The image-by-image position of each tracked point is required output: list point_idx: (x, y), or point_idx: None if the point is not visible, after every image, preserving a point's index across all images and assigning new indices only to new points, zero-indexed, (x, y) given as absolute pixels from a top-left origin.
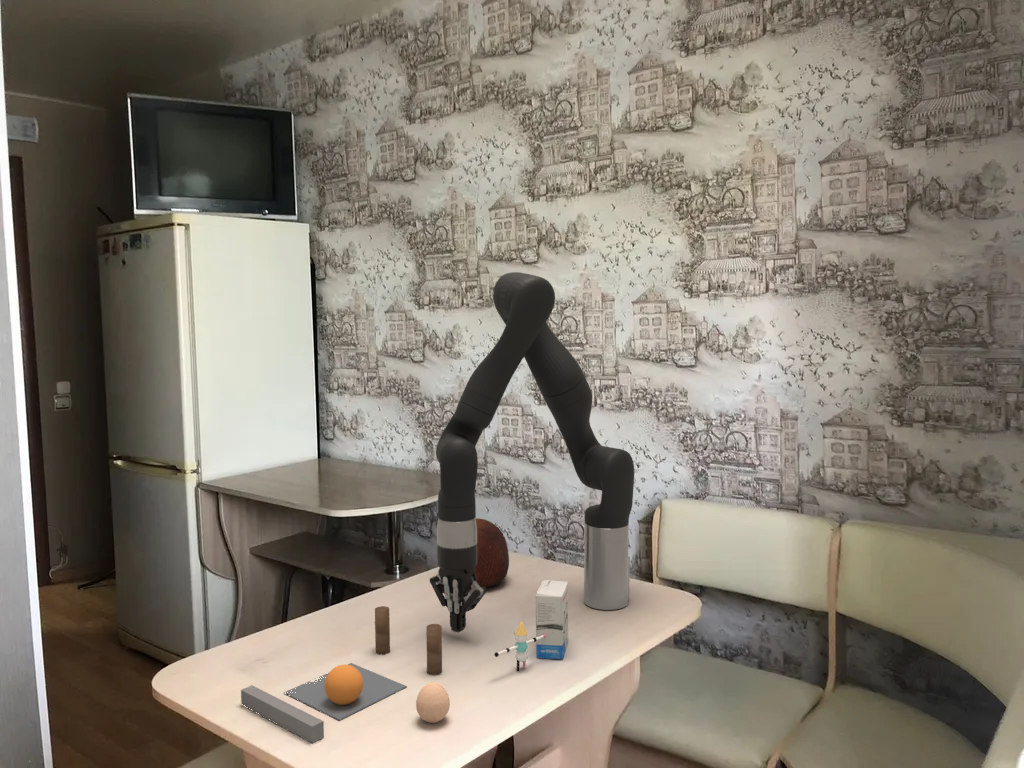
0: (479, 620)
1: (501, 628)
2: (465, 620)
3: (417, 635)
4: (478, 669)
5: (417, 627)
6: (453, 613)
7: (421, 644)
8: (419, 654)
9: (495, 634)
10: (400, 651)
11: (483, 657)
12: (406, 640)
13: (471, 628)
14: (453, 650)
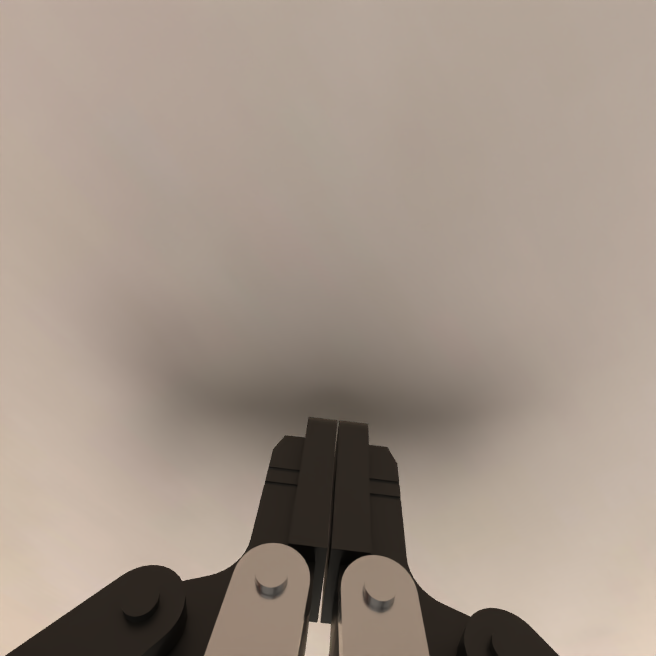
0: (252, 16)
1: (560, 69)
2: (399, 502)
3: (116, 479)
4: (640, 613)
5: (14, 402)
6: (314, 616)
7: (224, 541)
8: None
9: (559, 225)
10: None
11: (617, 527)
12: (129, 538)
13: (312, 230)
14: (415, 528)
